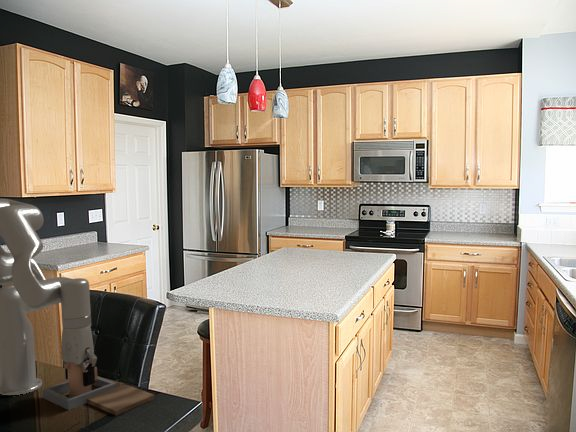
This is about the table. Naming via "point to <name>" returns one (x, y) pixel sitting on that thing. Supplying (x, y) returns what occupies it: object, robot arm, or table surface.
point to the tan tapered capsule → (77, 379)
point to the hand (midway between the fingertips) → (80, 381)
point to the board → (120, 399)
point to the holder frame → (56, 397)
